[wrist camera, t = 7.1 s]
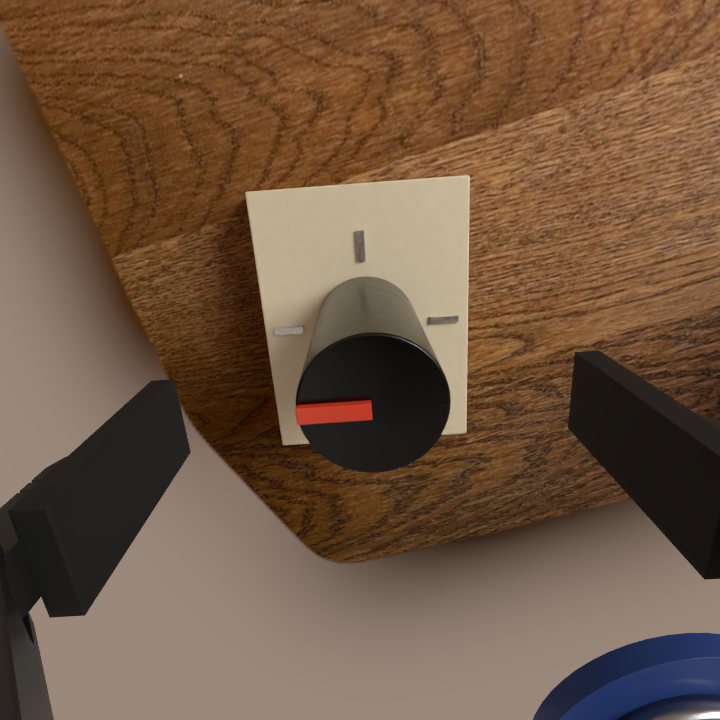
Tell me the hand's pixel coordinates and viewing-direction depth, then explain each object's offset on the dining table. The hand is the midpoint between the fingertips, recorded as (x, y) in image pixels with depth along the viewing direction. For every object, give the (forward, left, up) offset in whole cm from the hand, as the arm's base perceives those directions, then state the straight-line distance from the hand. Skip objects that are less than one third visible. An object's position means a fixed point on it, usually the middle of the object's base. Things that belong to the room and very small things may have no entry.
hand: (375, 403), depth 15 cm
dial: (0, 0, -8) cm, 8 cm away
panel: (0, 0, -11) cm, 11 cm away
